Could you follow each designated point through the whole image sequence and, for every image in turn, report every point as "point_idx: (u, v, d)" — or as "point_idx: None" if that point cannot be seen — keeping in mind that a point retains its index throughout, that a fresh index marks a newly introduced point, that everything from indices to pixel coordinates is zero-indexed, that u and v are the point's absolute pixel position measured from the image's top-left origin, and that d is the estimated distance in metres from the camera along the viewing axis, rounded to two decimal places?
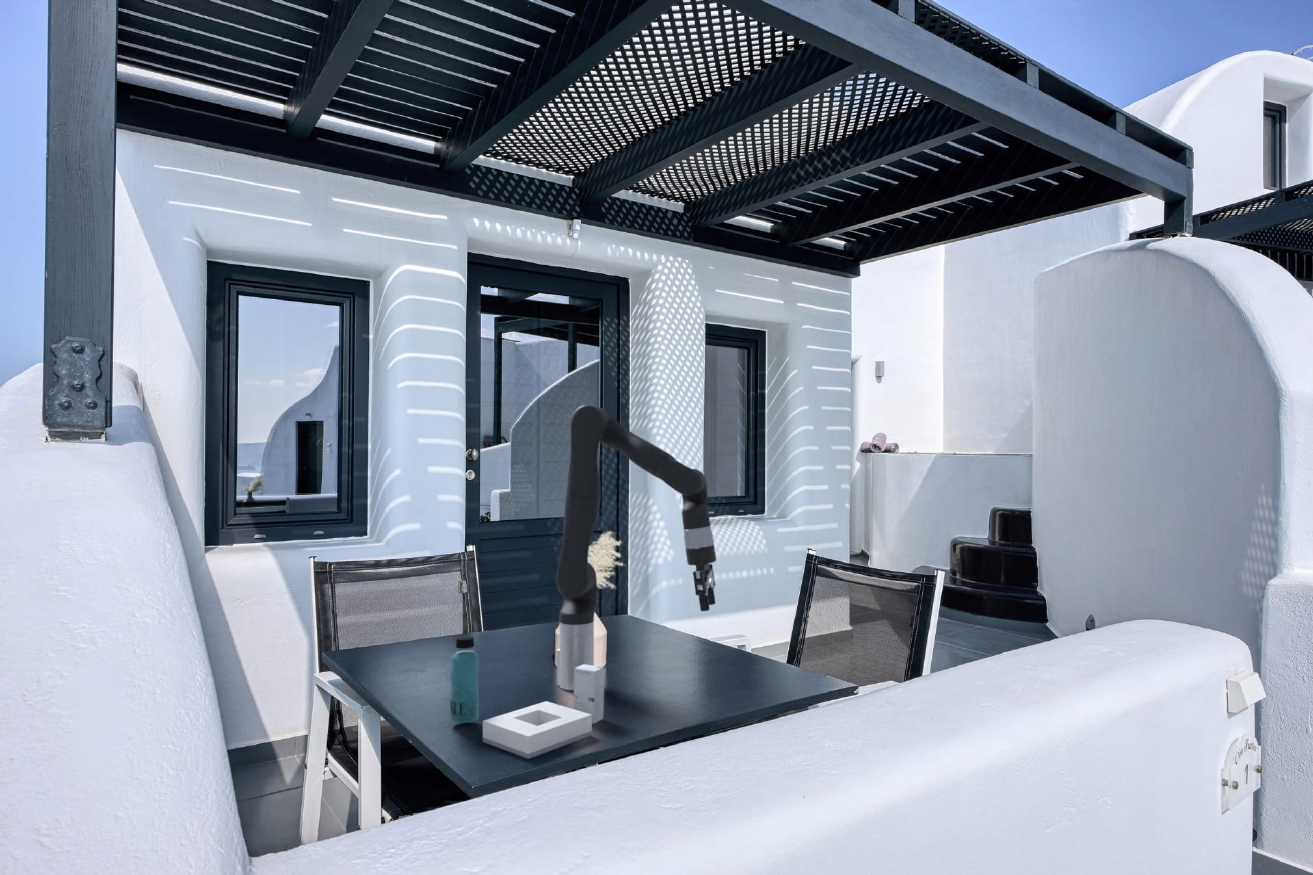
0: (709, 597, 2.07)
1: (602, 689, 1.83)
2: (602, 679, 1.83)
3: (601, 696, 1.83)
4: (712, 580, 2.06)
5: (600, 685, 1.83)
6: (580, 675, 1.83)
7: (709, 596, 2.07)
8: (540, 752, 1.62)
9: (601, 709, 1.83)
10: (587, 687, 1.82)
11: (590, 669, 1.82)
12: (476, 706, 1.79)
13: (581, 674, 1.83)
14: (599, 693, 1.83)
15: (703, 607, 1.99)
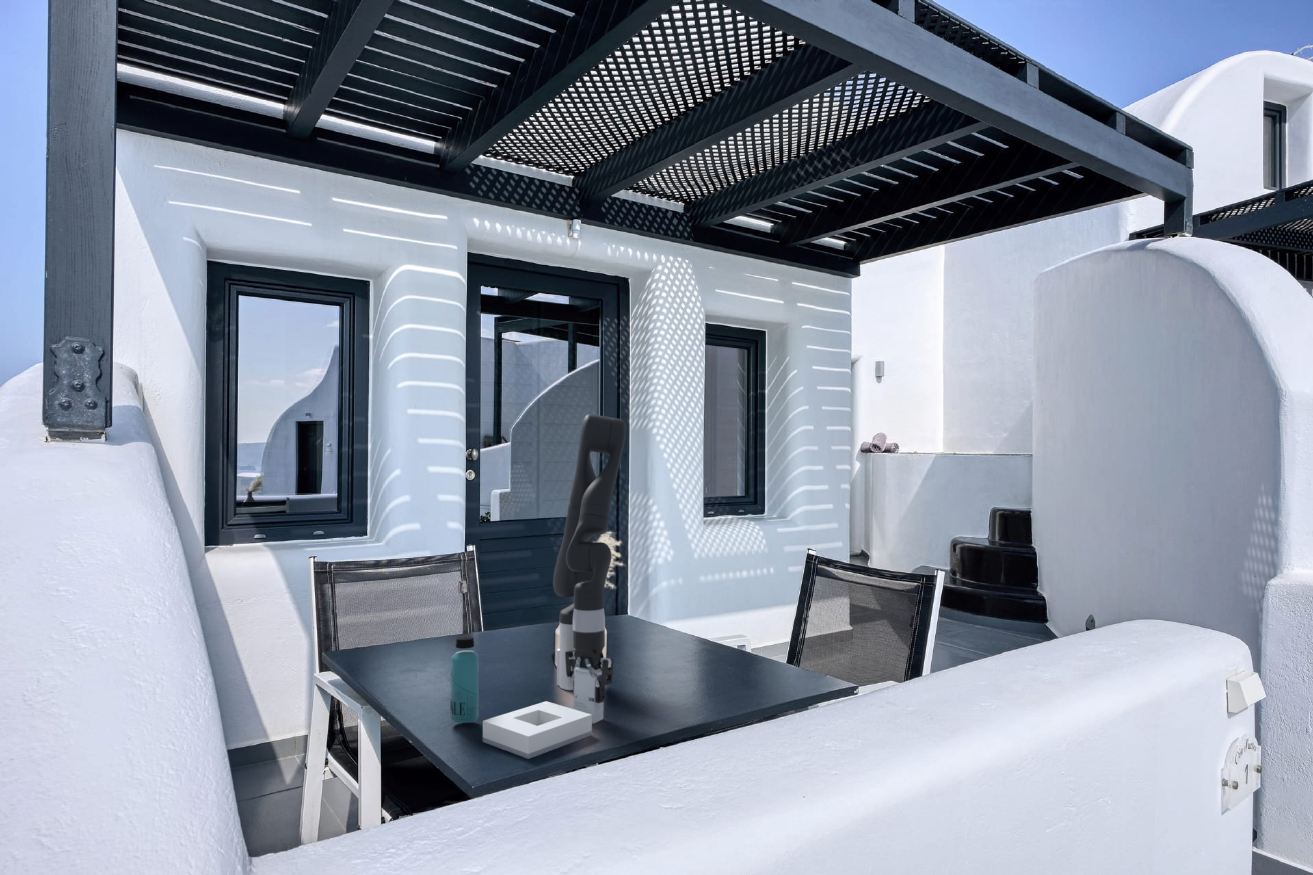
0: None
1: None
2: None
3: None
4: (590, 672, 1.81)
5: None
6: (580, 675, 1.83)
7: None
8: (540, 752, 1.62)
9: (601, 709, 1.83)
10: (587, 687, 1.82)
11: None
12: (476, 706, 1.79)
13: (581, 674, 1.83)
14: None
15: None
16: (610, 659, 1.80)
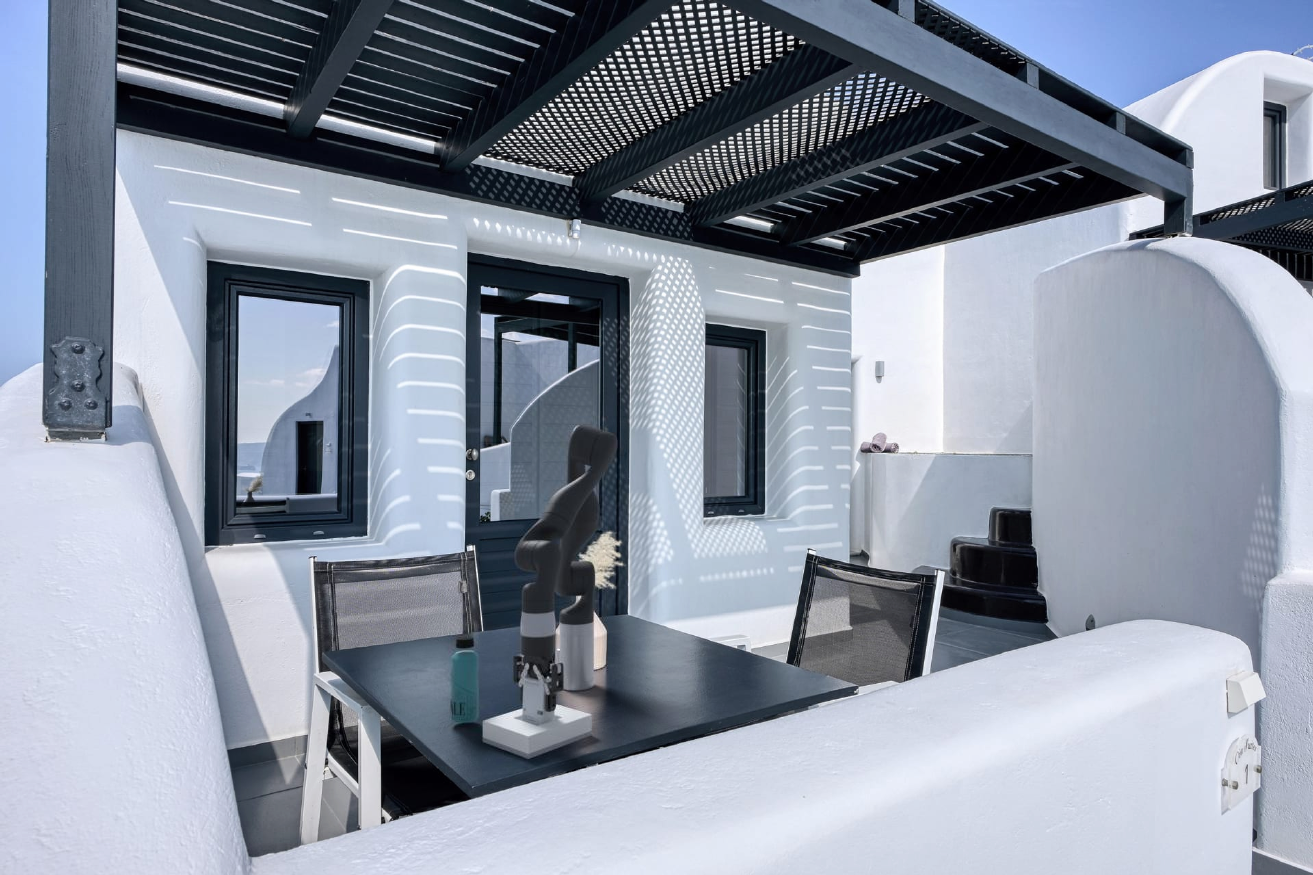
0: None
1: None
2: None
3: None
4: (539, 680, 1.69)
5: None
6: (528, 686, 1.70)
7: None
8: (540, 752, 1.62)
9: None
10: (535, 699, 1.69)
11: None
12: (476, 706, 1.79)
13: (530, 685, 1.70)
14: None
15: None
16: (559, 664, 1.68)
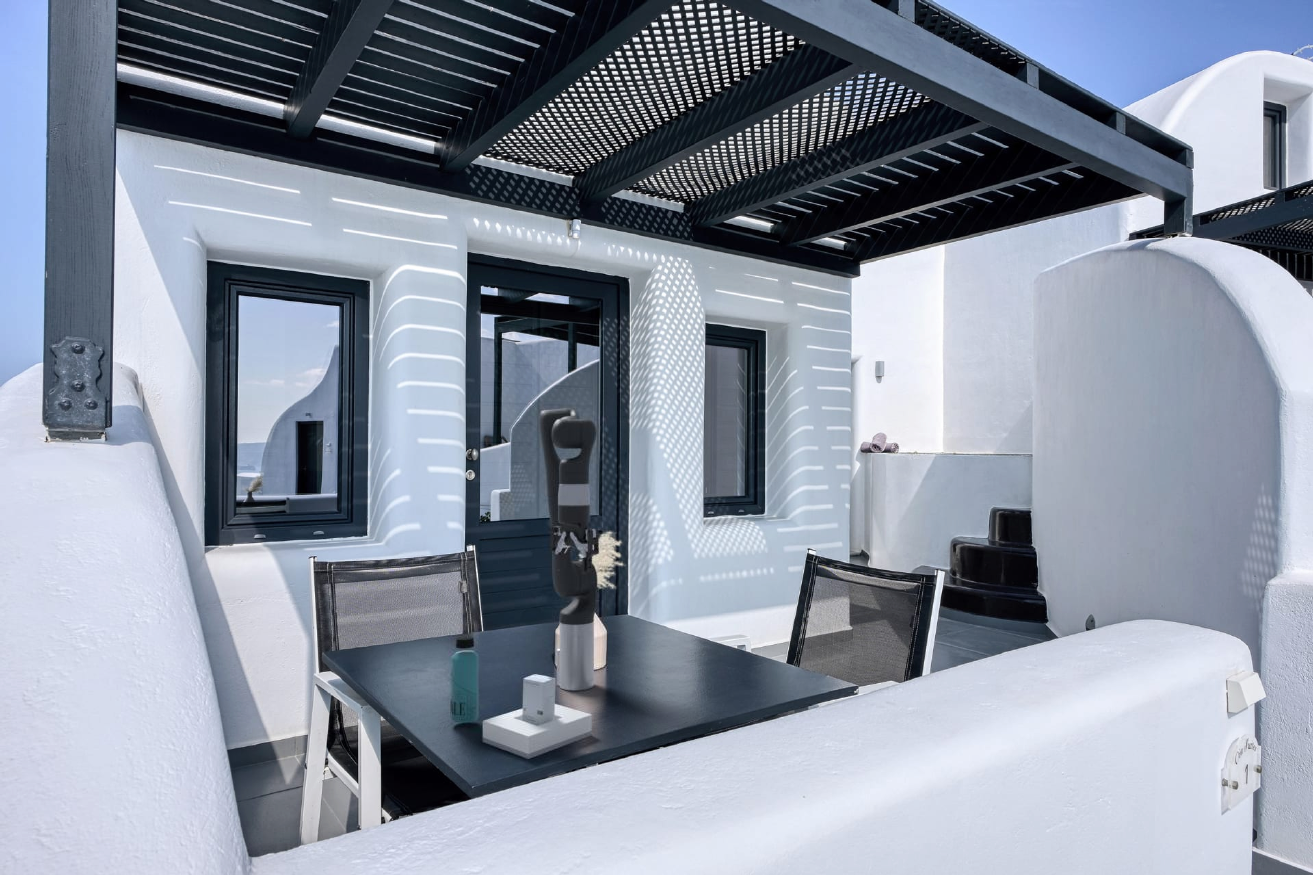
0: None
1: (552, 701, 1.71)
2: (553, 691, 1.71)
3: (551, 709, 1.71)
4: (576, 545, 1.84)
5: (550, 697, 1.70)
6: (528, 686, 1.70)
7: None
8: (540, 752, 1.62)
9: None
10: (535, 699, 1.69)
11: (539, 680, 1.70)
12: (476, 706, 1.79)
13: (530, 685, 1.70)
14: (549, 705, 1.70)
15: None
16: (594, 529, 1.83)
